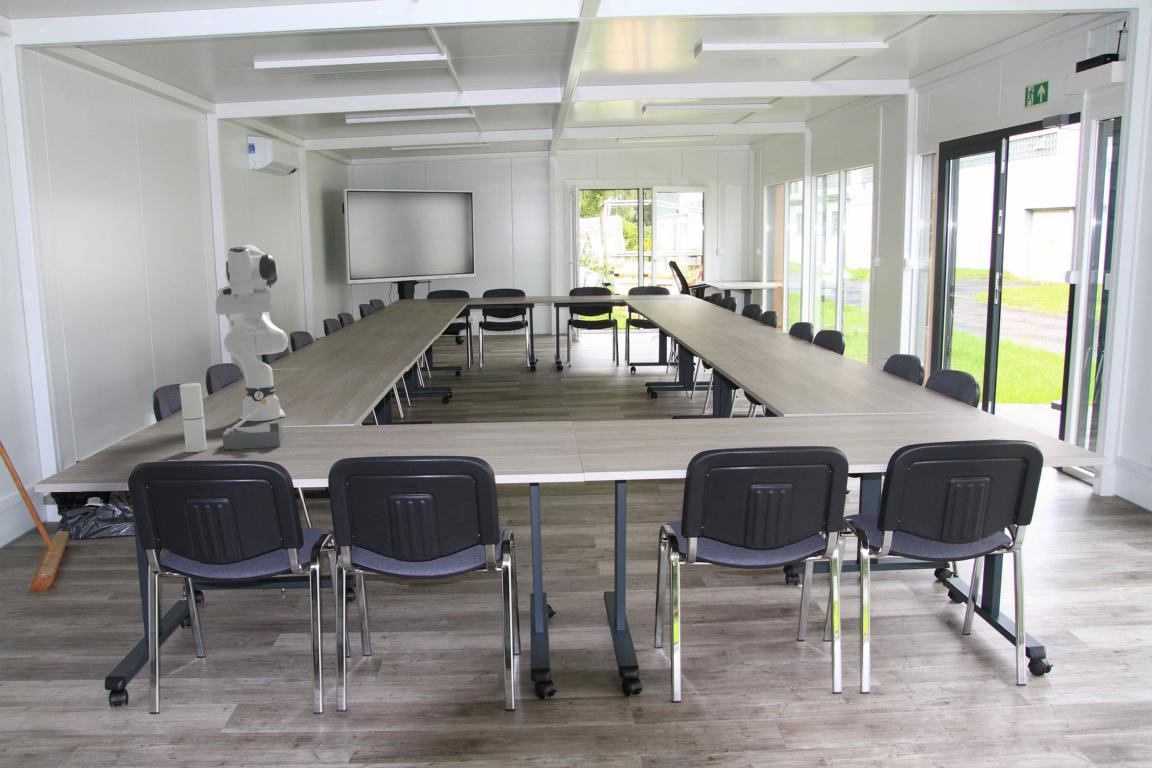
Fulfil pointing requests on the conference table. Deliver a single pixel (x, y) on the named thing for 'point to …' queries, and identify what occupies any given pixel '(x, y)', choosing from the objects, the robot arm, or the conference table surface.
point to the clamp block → (253, 437)
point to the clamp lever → (264, 404)
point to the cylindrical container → (193, 417)
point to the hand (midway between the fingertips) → (245, 325)
